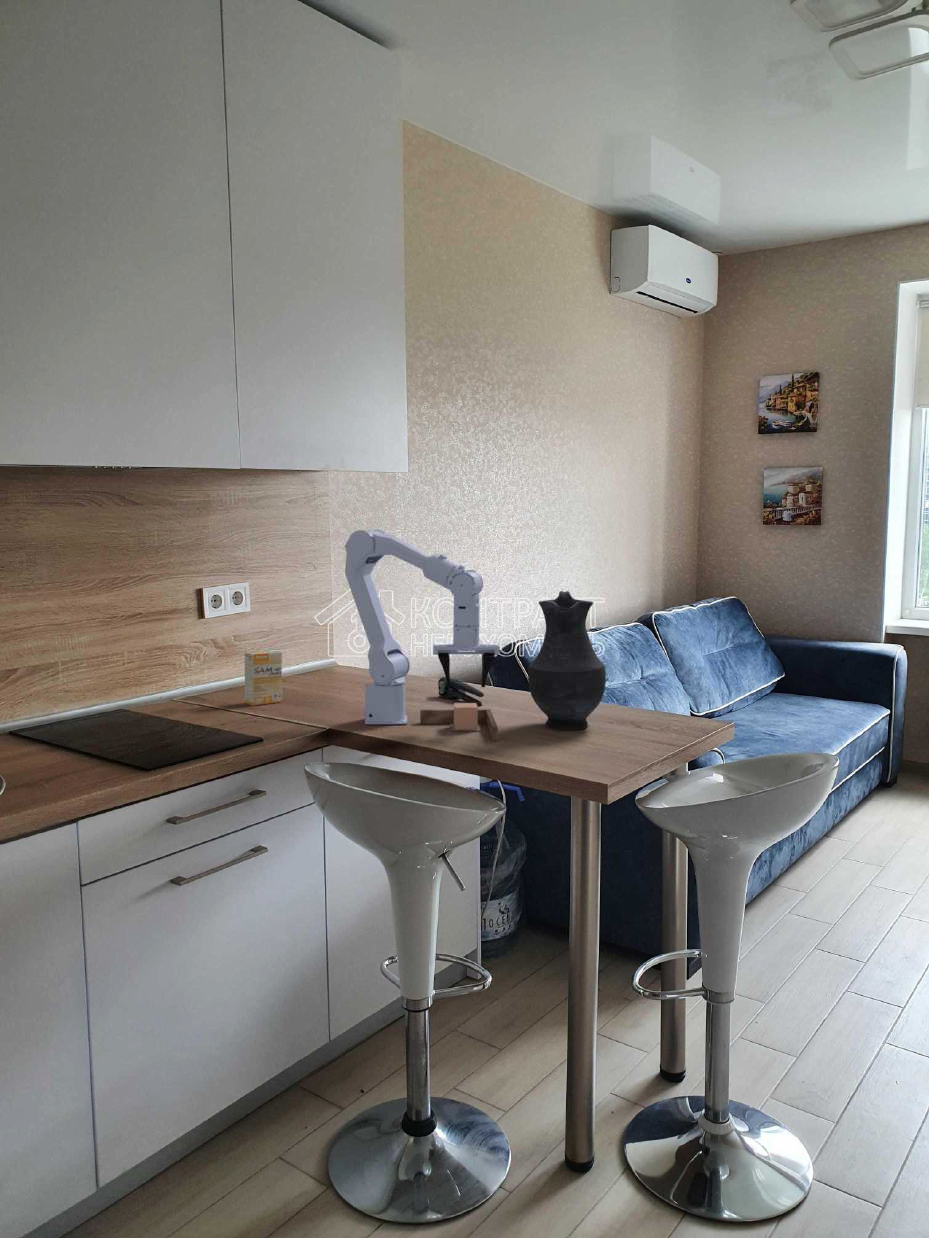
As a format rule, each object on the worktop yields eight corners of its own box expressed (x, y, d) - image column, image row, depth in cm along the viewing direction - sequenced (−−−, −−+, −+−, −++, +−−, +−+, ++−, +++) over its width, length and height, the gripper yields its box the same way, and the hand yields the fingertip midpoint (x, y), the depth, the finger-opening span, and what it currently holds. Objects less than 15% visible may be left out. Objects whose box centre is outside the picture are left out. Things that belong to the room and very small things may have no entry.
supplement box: (253, 706, 228) (252, 653, 227) (244, 703, 232) (243, 651, 231) (283, 702, 233) (282, 651, 232) (274, 699, 237) (273, 648, 236)
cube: (454, 729, 204) (454, 707, 203) (453, 724, 208) (453, 703, 208) (477, 729, 204) (477, 707, 203) (475, 724, 209) (476, 703, 208)
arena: (421, 741, 193) (421, 727, 193) (420, 722, 212) (420, 709, 211) (497, 741, 194) (497, 727, 194) (490, 722, 213) (490, 709, 212)
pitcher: (528, 734, 201) (530, 596, 198) (526, 713, 222) (528, 589, 219) (608, 735, 200) (612, 597, 197) (598, 715, 221) (601, 589, 218)
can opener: (431, 697, 243) (431, 675, 242) (453, 694, 247) (453, 673, 246) (469, 708, 228) (469, 686, 228) (492, 705, 232) (492, 683, 232)
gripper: (433, 627, 199) (433, 690, 201) (500, 628, 200) (500, 689, 202) (433, 624, 206) (432, 684, 208) (497, 624, 207) (497, 684, 209)
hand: (465, 686), depth 205 cm, fingers open, 7 cm apart
